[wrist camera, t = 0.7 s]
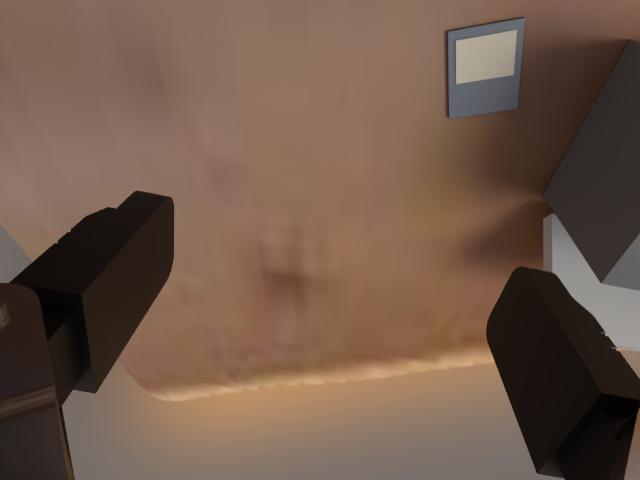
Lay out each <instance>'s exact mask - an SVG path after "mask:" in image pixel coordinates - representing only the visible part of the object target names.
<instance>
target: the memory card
mask: <svg viewBox="0 0 640 480" xmlns="http://www.w3.org/2000/svg"><path fill="white" fill-rule="evenodd" d="M524 26H525V18H524V17H522V18H517V19H511V20H506V21H500V22H495V23H489V24H484V25H478V26H473V27H468V28H462V29H457V30H451V31H447V32H448V106H449V119H452V118H459V117H466V116H473V115H479V114H486V113H493V112H500V111H507V110H514V109H518V99H519V87H520V75H521V62H522V50H523V38H524Z"/></svg>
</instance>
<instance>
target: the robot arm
mask: <svg viewBox="0 0 640 480" xmlns="http://www.w3.org/2000/svg"><path fill="white" fill-rule="evenodd" d="M173 258H174V203H173V200H172V198H171V197H168V196H163V195H158V194H152V193H147V192H142V191H135V192H134V193H132V194H131V195H130V196H129V197H128V198H127V199H126V200H125V201H124V202H123V203H122V204H121V205H120V206H119V207H118V208H116V209H115V208H110V207H107V208H105V209H103V210H100V211H98V212H95V213H93V214H90V215H88V216H86V217H85V218H83V219H82V220H81V221H80V222H79V223H78V224H77V225H75V226H74V227H73V228H72V229H71V232H67V233H66V234H65V235H64V236H63V237H61V238H60V239H59V240H58V243H57V244H56V243H54V244H53V245H52V246H51V247H50V248H49V249H48V250H46V251H45V252H44V253H43V254H42V255H41V256H39V257H38V258H37V259H36V260H35V261H34V262H32V263H31V264H30V265H29V266H28V267H27V268H25V269H24V270H23V271H22V272H21V273H20V274H19V275H17V276H16V277H15V278H14V279H13V280H12V281H11V282H9V283H0V480H75V477H74V471H73V466H72V460H71V455H70V449H69V444H68V438H67V432H66V427H65V421H64V415H63V410H62V405H63V403H64V402H65V400H66V399H67V398H68V396H69V394H70V393H71V392H72V390H79V391H84V392H90V393H96V392H97V390H98V389H99V387H100V385H101V384H102V382H103V381H104V379H105V378H106V376H107V375H108V373H109V371H110V370H111V368H112V367H113V365H114V363H115V362H116V360H117V359H118V357H119V356H120V354H121V352H122V351H123V349H124V348H125V346H126V344H127V343H128V341H129V340H130V338H131V337H132V335H133V333H134V332H135V330H136V329H137V327H138V326H139V324H140V322H141V321H142V319H143V318H144V316H145V314H146V313H147V311H148V310H149V308H150V307H151V305H152V303H153V302H154V300H155V299H156V297H157V295H158V294H159V292H160V291H161V289H162V288H163V286H164V284H165V283H166V281H167V279H168V277H169V275H170V272H171V269H172V264H173ZM605 333H606V332H605V331H604V329H603V328H602V327H601V325H600V324H599V323H598V321H597V320H596V318H595V317H594V316H593V315H592V314H591V313H590V312H589V311H588V310H587V309H585V308H584V307H583V306H582V305H581V304H580V303H578V302H577V301H576V300H575V299H574V298H573V297H572V296H571V294H570V293H569V292H568V290H567V289H566V287H565V286H564V285H563V283H562V282H561V280H560V279H559V277H558V276H557V275H556V274H555V273H552V272H547V271H542V270H537V269H532V268H527V267H518V268H516V269H515V270H514V271H513V272H512V274H511V276H510V278H509V280H508V281H507V283H506V285H505V287H504V289H503V291H502V293H501V295H500V297H499V299H498V301H497V303H496V304H495V306H494V308H493V310H492V312H491V314H490V316H489V319H488V322H487V329H486V336H487V342H488V345H489V347H490V350H491V353H492V355H493V358H494V360H495V363H496V366H497V368H498V371H499V374H500V376H501V379H502V382H503V384H504V387H505V389H506V392H507V395H508V397H509V400H510V403H511V405H512V408H513V411H514V413H515V416H516V419H517V422H518V424H519V427H520V429H521V432H522V435H523V437H524V440H525V443H526V445H527V448H528V451H529V453H530V456H531V459H532V461H533V464H534V466H535V469H536V472H537V473H538V474H542V475H548V476H554V477H559V478H564V479H565V480H640V379H639V378H638V376H637V375H636V373H635V372H634V371H633V369H632V368H631V367H630V365H629V364H628V363H627V361H626V360H625V358H624V357H623V356H622V354H621V353H620V352H619V351H616V348H617V347H616V346H615V345H614V343H613V342H612V340H611V339H610V338H609V336H605Z"/></svg>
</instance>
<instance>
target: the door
mask: <svg viewBox="0 0 640 480" xmlns="http://www.w3.org/2000/svg"><path fill="white" fill-rule="evenodd" d="M543 271H547V272H552V273H555V274H556V275H557V276H558V277H559V279H560V280H561V282H562V283H563V285H564V286H565V287H566V289H567V290H568V292H569V293H570V294H571V296H572V297H573V298H574V299H575V300H576V301H577V302H578V303H580V304H581V305H582V306H583V307H584V308H585V309H587V310H588V311H589V312H590V313H591V314H592V315H593V316H594V317H595V318H596V320H597V321H598V323H599V324H600V325H601V327H602V328H603V329H604V331H605V332H606V333H605V336H609V338H610V339H611V340H612V342H613V343H614V345H615V346H616V347H617V348H621V349H626V350H632V351H638V352H640V292H639V291H634V290H628V289H623V288H618V287H612V286H609V285H606V284H601V283H600V281H599V280H598V278H597V277H596V275H595V274H594V272H593V271H592V269H591V268H590V266H589V265H588V263H587V262H586V260H585V259H584V257H583V256H582V254H581V253H580V251H579V250H578V248H577V247H576V245H575V244H574V242H573V240H572V239H571V237H570V236H569V234H568V233H567V231H566V230H565V228H564V227H563V225H562V224H561V222H560V221H559V219H558V218H557V216H556V215H555V214H550V215H549V216H547V217H545V218H543Z"/></svg>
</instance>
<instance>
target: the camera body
mask: <svg viewBox="0 0 640 480" xmlns="http://www.w3.org/2000/svg"><path fill="white" fill-rule="evenodd" d="M543 196H544V198H545V199H546V201H547V203H548V204H549V206H550V207H551V209H552V210H553V212H554V213H555V215H556V216H557V218H558V219H559V221H560V222H561V224H562V225H563V227H564V228H565V230H566V231H567V233H568V234H569V236H570V237H571V239H572V240H573V242H574V244H575V245H576V247H577V248H578V250H579V251H580V253H581V254H582V256H583V257H584V259H585V260H586V262H587V263H588V265H589V266H590V268H591V269H592V271H593V272H594V274H595V275H596V277H597V278H598V280H599V281H600V283H601V284H606V285H609V286H612V287H618V288H623V289H628V290H634V291H639V292H640V42H639V41H634V40H629V42H628V44H627V46H626V47H625V49H624V51H623V53H622V55H621V56H620V58H619V60H618V62H617V63H616V65H615V67H614V69H613V70H612V72H611V74H610V76H609V78H608V79H607V81H606V83H605V85H604V86H603V88H602V90H601V92H600V94H599V95H598V97H597V99H596V101H595V102H594V104H593V106H592V108H591V110H590V111H589V113H588V115H587V117H586V118H585V120H584V122H583V124H582V126H581V127H580V129H579V131H578V133H577V134H576V136H575V138H574V140H573V142H572V143H571V145H570V147H569V149H568V150H567V152H566V154H565V156H564V158H563V159H562V161H561V163H560V165H559V166H558V168H557V170H556V172H555V174H554V175H553V177H552V179H551V181H550V182H549V184H548V186H547V188H546V190H545V191H544V193H543Z"/></svg>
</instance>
